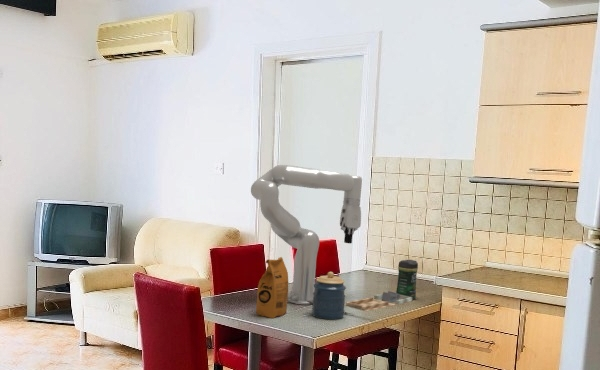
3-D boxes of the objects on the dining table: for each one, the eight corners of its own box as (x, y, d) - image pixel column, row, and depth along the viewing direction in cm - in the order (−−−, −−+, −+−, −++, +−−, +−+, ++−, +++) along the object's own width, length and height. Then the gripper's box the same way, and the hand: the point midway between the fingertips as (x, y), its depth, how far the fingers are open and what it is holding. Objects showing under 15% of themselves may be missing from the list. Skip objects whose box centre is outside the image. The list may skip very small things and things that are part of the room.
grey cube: (393, 301, 250) (395, 292, 251) (386, 299, 253) (388, 291, 254) (398, 302, 253) (400, 294, 254) (390, 301, 256) (392, 292, 257)
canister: (324, 309, 232) (327, 267, 232) (350, 316, 224) (353, 272, 223) (305, 314, 222) (308, 270, 222) (331, 321, 214) (334, 275, 213)
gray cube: (388, 302, 247) (390, 293, 248) (381, 300, 250) (383, 292, 251) (393, 304, 250) (395, 295, 251) (386, 302, 253) (388, 293, 253)
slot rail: (366, 314, 228) (366, 307, 228) (343, 308, 237) (343, 301, 237) (412, 304, 255) (412, 297, 255) (390, 298, 263) (390, 292, 263)
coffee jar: (407, 301, 259) (410, 261, 259) (393, 298, 264) (396, 259, 264) (418, 299, 266) (421, 260, 266) (403, 295, 272) (406, 257, 271)
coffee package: (251, 314, 216) (255, 258, 216) (269, 309, 227) (273, 255, 227) (272, 319, 211) (276, 261, 211) (290, 313, 222) (293, 258, 221)
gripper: (347, 202, 245) (343, 244, 246) (368, 204, 256) (364, 244, 256) (334, 201, 251) (330, 242, 251) (355, 202, 261) (351, 241, 261)
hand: (347, 242), depth 253 cm, fingers closed
